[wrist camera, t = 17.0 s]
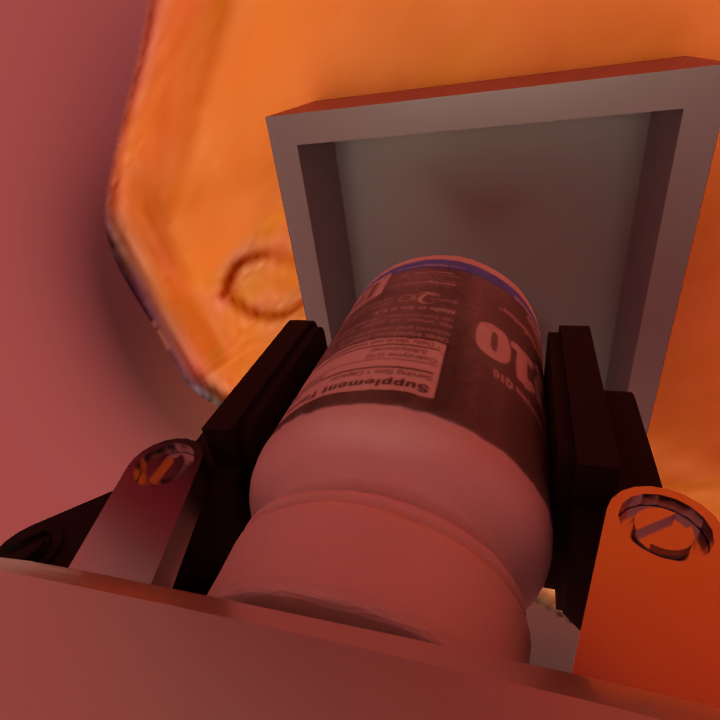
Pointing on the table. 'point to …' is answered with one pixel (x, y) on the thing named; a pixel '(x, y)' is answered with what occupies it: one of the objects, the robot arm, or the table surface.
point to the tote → (514, 196)
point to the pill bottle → (411, 469)
